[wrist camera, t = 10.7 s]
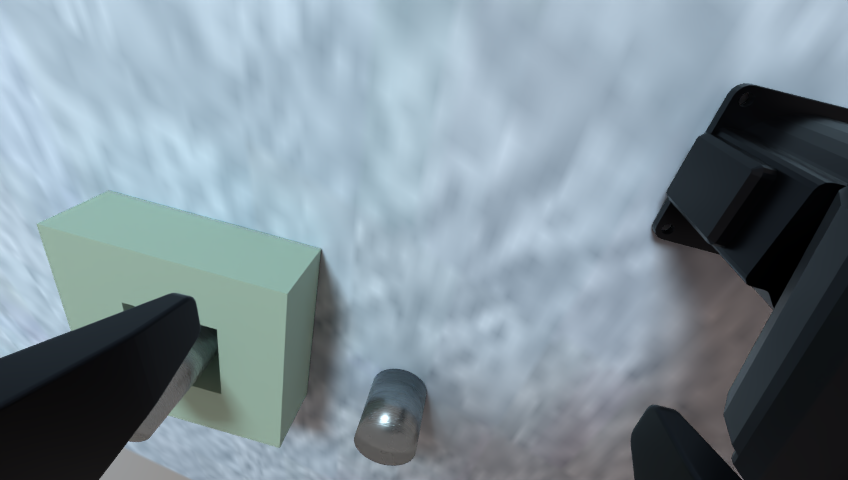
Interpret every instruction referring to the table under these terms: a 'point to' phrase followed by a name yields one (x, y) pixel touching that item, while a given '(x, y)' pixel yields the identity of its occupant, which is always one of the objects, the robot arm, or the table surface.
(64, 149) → the table surface
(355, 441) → the short pin
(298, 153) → the table surface
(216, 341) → the long pin
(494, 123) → the table surface
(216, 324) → the hole block
